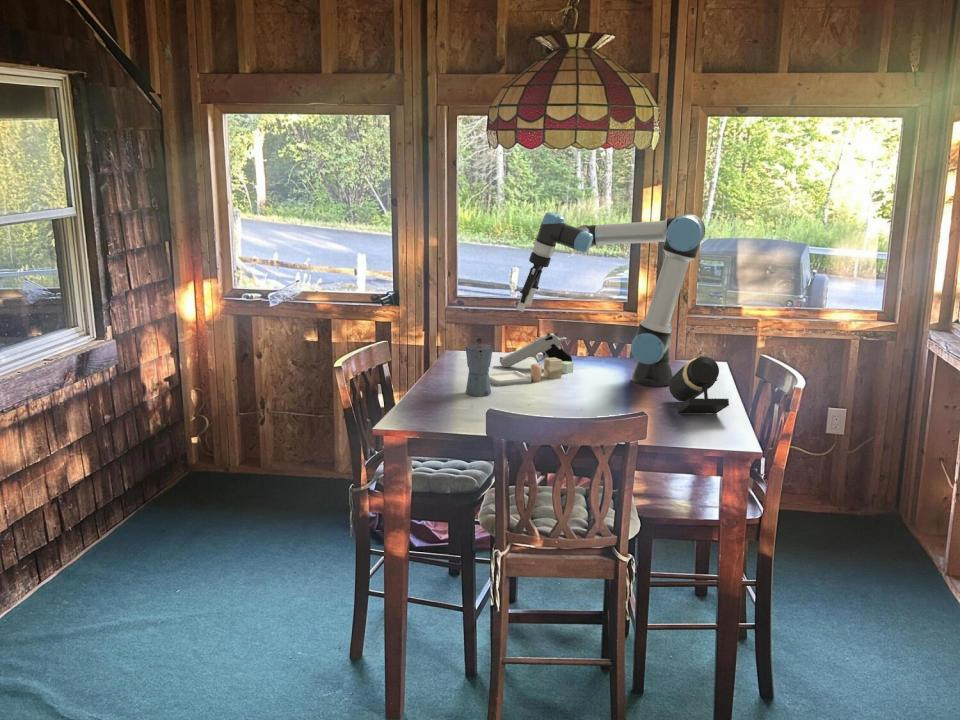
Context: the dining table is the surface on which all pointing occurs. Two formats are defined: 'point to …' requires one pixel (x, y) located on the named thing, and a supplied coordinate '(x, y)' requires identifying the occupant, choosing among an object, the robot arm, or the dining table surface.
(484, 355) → the moka pot
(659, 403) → the dining table surface
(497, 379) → the tray
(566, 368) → the sage block
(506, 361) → the handgun
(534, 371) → the peach capsule
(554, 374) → the birch block
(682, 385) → the light fixture
